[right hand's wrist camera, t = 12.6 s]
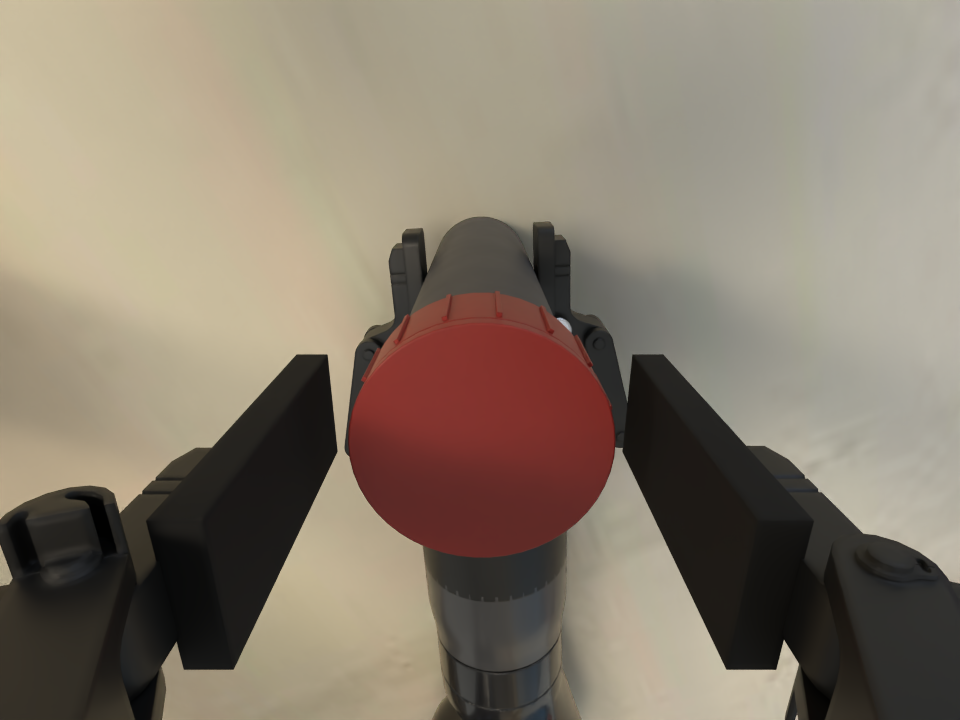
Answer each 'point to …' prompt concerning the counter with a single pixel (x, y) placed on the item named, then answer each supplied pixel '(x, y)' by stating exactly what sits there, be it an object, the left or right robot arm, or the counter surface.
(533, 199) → the counter surface
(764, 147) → the counter surface
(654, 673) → the counter surface
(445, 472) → the lid
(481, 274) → the grey cylinder
